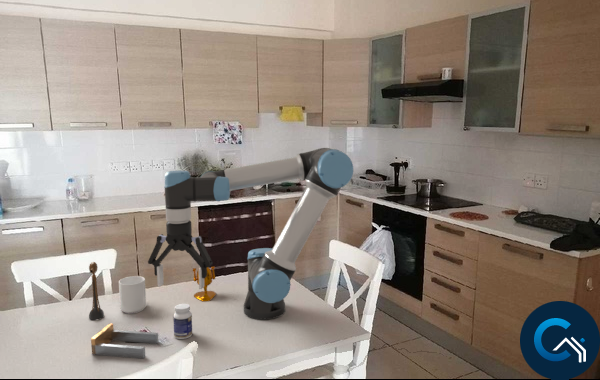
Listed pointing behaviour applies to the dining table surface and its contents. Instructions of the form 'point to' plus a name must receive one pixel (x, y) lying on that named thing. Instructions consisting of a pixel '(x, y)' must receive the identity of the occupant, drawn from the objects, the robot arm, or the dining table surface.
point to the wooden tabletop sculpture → (95, 295)
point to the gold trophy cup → (205, 286)
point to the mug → (132, 294)
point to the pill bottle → (182, 321)
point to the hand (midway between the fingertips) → (181, 286)
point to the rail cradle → (108, 334)
